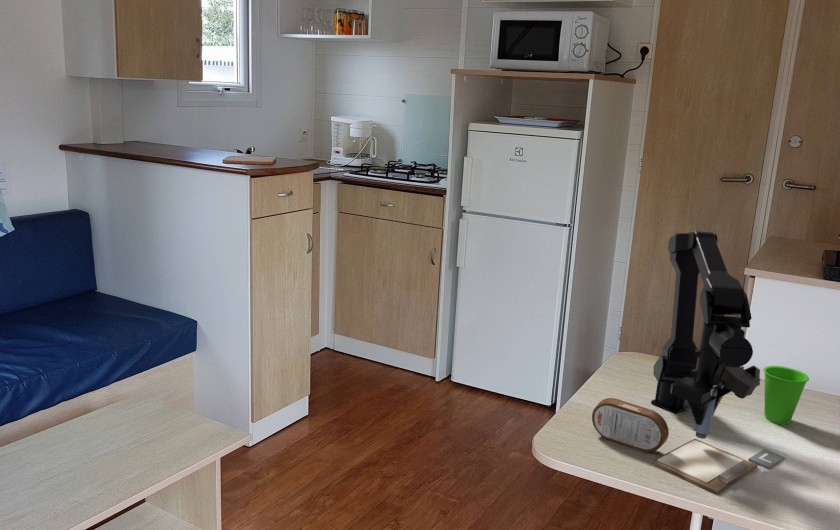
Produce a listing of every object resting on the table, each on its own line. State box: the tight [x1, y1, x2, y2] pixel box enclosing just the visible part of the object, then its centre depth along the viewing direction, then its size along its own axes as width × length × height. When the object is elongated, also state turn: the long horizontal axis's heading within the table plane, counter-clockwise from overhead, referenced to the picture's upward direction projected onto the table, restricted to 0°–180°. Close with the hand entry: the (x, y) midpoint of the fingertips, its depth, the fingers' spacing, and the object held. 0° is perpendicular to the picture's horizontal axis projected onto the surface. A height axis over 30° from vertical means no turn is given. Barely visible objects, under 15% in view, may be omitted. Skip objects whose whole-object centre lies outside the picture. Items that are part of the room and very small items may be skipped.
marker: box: [693, 387, 718, 440], centre depth 141 cm, size 3×3×10 cm
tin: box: [591, 397, 670, 453], centre depth 143 cm, size 15×3×8 cm, turn 54°
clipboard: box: [651, 438, 759, 495], centre depth 137 cm, size 13×16×2 cm
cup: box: [762, 365, 810, 425], centre depth 158 cm, size 9×9×11 cm
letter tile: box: [748, 448, 786, 470], centre depth 141 cm, size 4×7×1 cm, turn 131°
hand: (702, 422), depth 142 cm, fingers closed on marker, 3 cm apart
